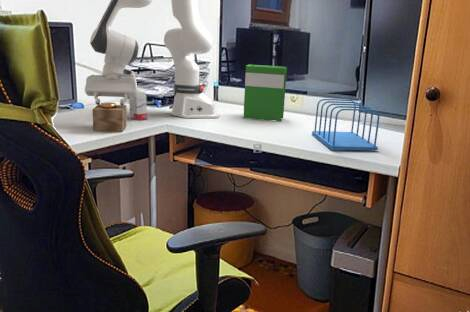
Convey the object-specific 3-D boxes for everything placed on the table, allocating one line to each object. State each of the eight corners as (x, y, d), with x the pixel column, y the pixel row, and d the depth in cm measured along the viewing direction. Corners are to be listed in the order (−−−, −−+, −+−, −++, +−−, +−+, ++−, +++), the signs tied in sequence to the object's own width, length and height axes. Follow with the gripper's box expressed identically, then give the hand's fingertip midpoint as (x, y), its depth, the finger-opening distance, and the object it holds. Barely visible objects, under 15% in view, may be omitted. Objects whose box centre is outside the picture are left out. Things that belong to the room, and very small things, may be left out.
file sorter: (377, 152, 170) (383, 110, 166) (331, 151, 168) (335, 109, 164) (352, 136, 194) (356, 98, 190) (311, 135, 192) (315, 97, 187)
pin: (117, 126, 189) (116, 102, 186) (114, 129, 184) (114, 105, 181) (103, 125, 188) (102, 102, 186) (100, 128, 183) (99, 104, 181)
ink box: (147, 119, 206) (147, 92, 203) (136, 120, 203) (136, 93, 200) (139, 116, 213) (139, 89, 210) (128, 116, 210) (128, 90, 207)
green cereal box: (283, 118, 223) (286, 67, 217) (280, 121, 216) (284, 68, 210) (246, 115, 227) (249, 64, 220) (243, 117, 220) (246, 65, 213)
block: (126, 125, 192) (126, 105, 190) (122, 132, 181) (122, 110, 179) (99, 125, 191) (98, 104, 189) (93, 131, 181) (92, 109, 178)
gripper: (85, 69, 186) (80, 98, 180) (138, 71, 188) (135, 100, 181) (88, 79, 192) (84, 107, 185) (139, 81, 194) (136, 109, 187)
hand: (109, 104), depth 183 cm, fingers open, 8 cm apart
